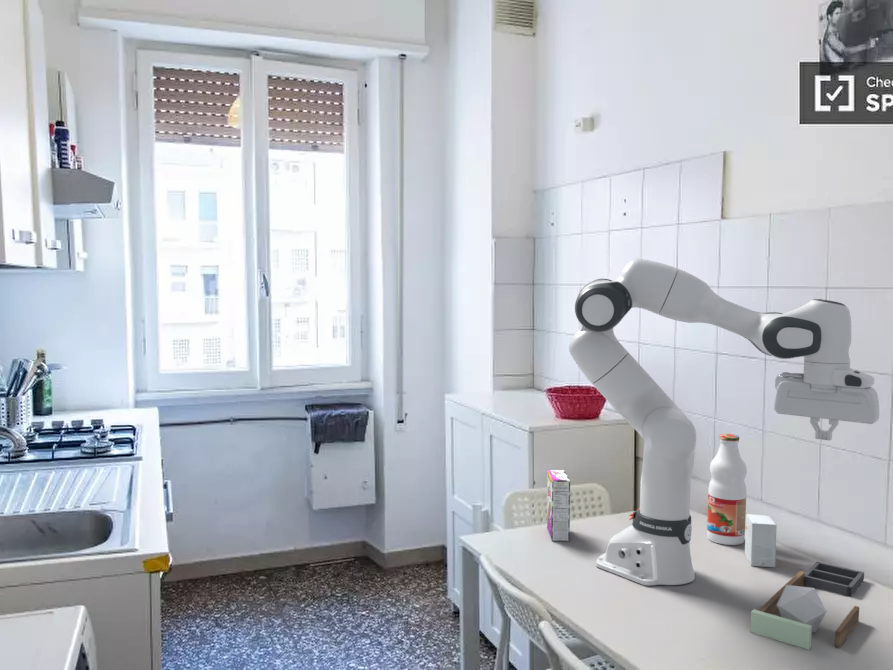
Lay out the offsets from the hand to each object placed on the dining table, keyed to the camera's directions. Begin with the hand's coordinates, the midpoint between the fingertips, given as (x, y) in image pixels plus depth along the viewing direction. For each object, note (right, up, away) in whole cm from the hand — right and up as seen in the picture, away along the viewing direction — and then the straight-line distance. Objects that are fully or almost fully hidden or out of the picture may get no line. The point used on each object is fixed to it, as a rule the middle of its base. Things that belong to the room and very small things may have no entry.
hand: (823, 439), depth 161 cm
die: (-12, -35, -14) cm, 40 cm away
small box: (-5, -33, +22) cm, 40 cm away
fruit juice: (-7, -32, +37) cm, 49 cm away
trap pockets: (+7, -34, +9) cm, 35 cm away
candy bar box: (-51, -31, +39) cm, 72 cm away
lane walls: (-6, -35, -9) cm, 36 cm away
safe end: (-18, -35, -19) cm, 44 cm away
